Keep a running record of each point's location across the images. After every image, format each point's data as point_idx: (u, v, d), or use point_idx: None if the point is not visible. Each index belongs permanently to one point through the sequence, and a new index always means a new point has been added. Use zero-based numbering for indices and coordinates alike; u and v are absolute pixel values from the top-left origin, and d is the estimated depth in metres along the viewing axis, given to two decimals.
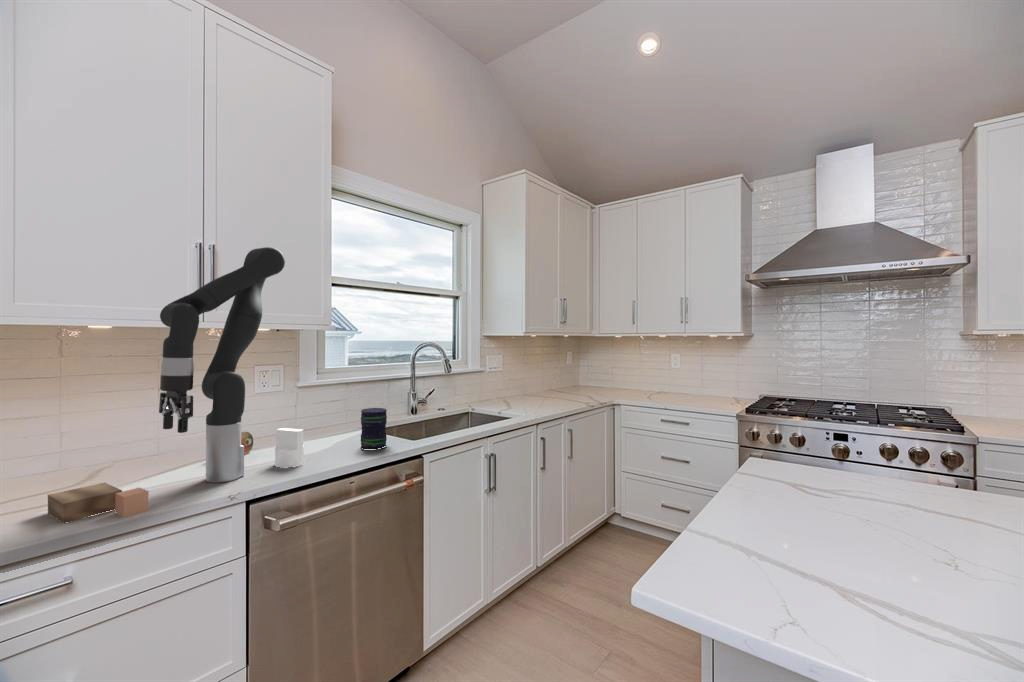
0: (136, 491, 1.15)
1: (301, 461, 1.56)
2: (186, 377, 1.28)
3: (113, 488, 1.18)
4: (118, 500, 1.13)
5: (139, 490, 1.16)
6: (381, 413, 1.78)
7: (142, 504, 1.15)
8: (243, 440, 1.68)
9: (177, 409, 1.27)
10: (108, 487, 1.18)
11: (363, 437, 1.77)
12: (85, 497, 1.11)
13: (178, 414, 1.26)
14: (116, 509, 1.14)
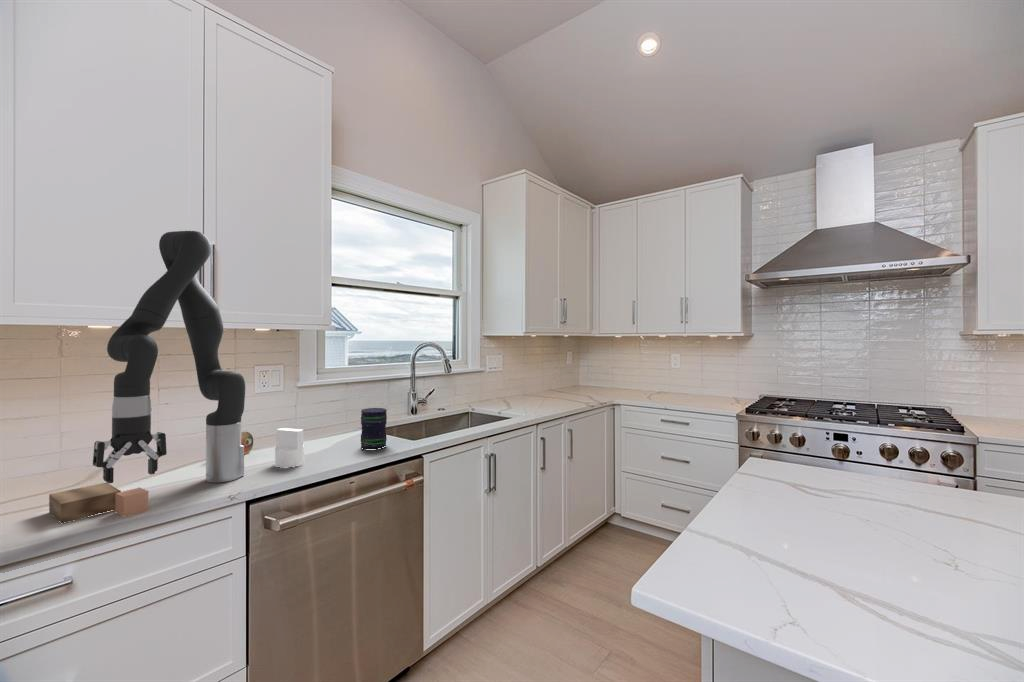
0: (136, 491, 1.15)
1: (301, 461, 1.56)
2: None
3: (113, 488, 1.18)
4: (118, 500, 1.13)
5: (139, 490, 1.16)
6: (381, 413, 1.78)
7: (142, 504, 1.15)
8: (243, 440, 1.68)
9: None
10: (108, 487, 1.18)
11: (363, 437, 1.77)
12: (84, 497, 1.11)
13: (154, 454, 1.18)
14: (116, 509, 1.14)
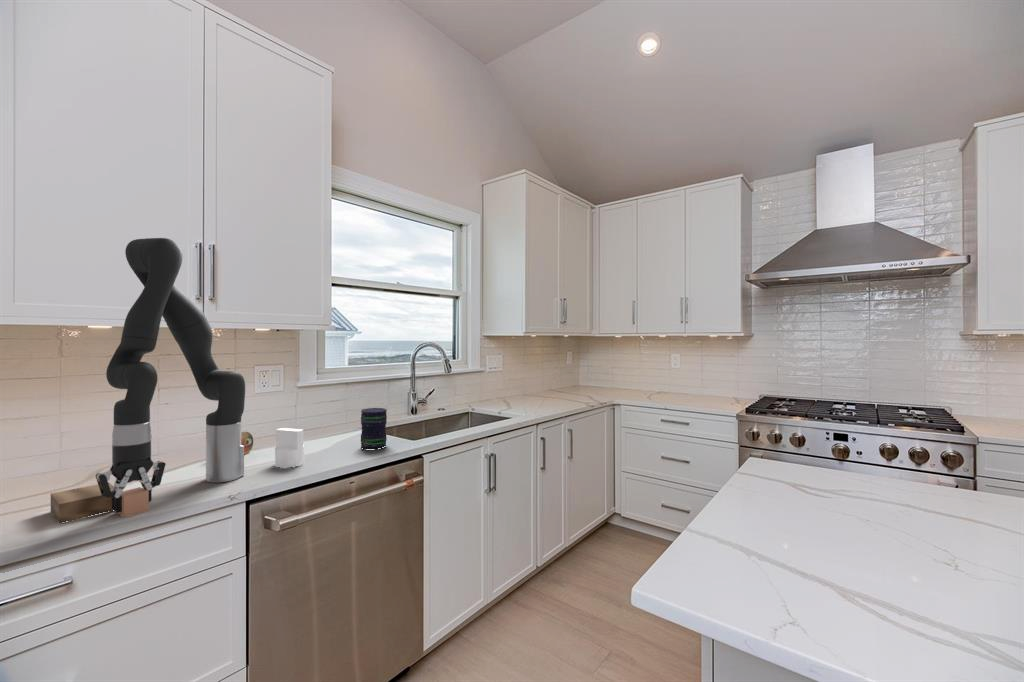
0: (136, 490, 1.15)
1: (301, 461, 1.56)
2: None
3: None
4: None
5: (139, 490, 1.16)
6: (381, 413, 1.78)
7: (142, 503, 1.15)
8: (243, 440, 1.68)
9: None
10: None
11: (363, 437, 1.77)
12: (82, 498, 1.11)
13: (148, 484, 1.17)
14: None
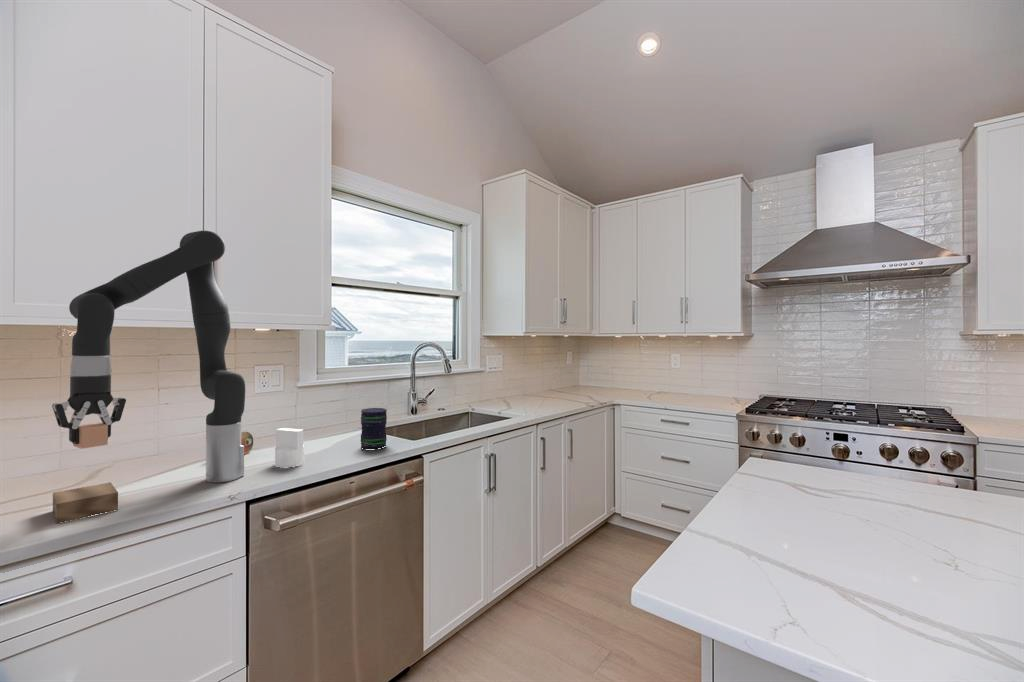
0: (95, 424, 1.15)
1: (301, 461, 1.56)
2: None
3: (113, 489, 1.17)
4: None
5: (98, 424, 1.15)
6: (381, 413, 1.78)
7: (100, 437, 1.14)
8: (243, 440, 1.68)
9: None
10: (109, 488, 1.18)
11: (363, 437, 1.77)
12: (80, 498, 1.11)
13: (108, 419, 1.16)
14: None
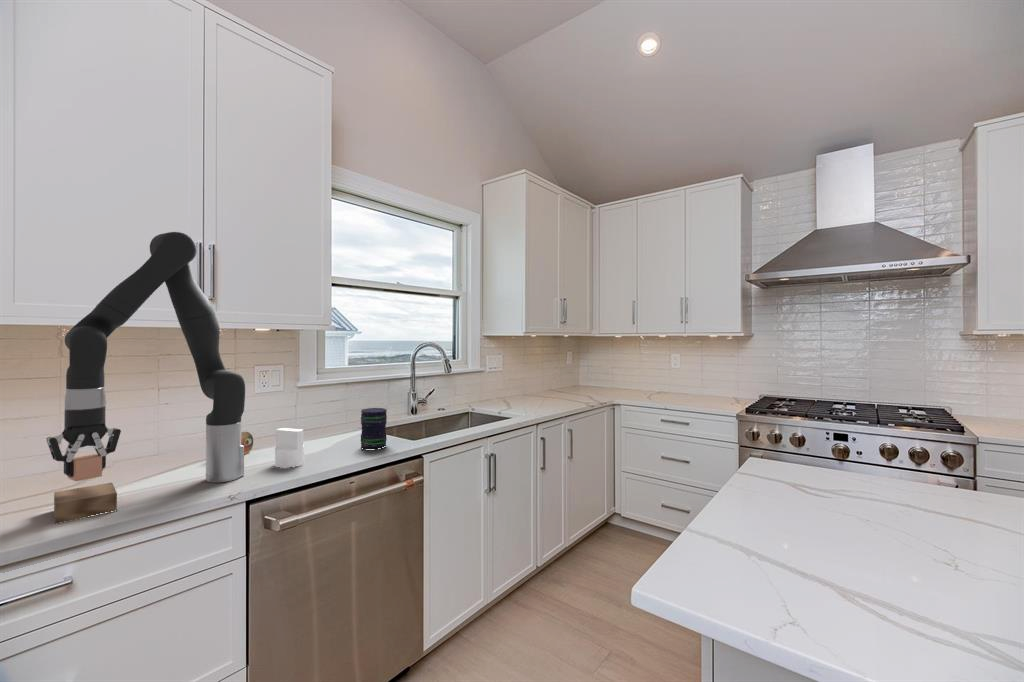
0: (90, 456, 1.15)
1: (301, 461, 1.56)
2: None
3: (112, 489, 1.17)
4: None
5: (93, 456, 1.16)
6: (381, 413, 1.78)
7: (95, 469, 1.14)
8: (243, 440, 1.68)
9: None
10: (109, 488, 1.18)
11: (363, 437, 1.77)
12: (79, 498, 1.11)
13: (102, 450, 1.17)
14: None
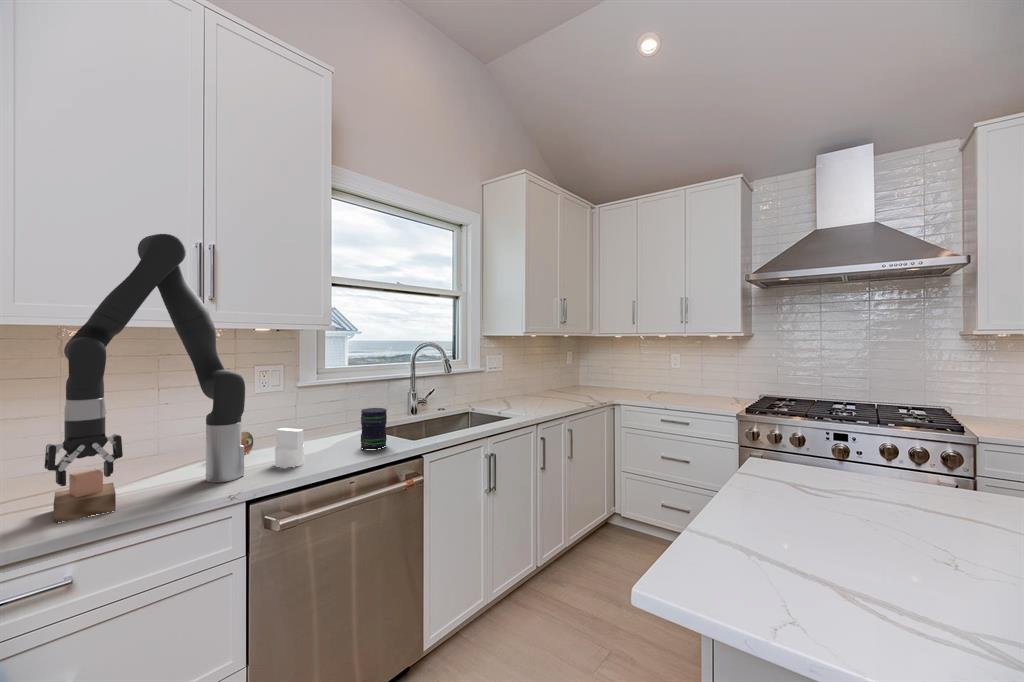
0: (90, 471, 1.15)
1: (301, 461, 1.56)
2: None
3: (112, 489, 1.17)
4: (72, 480, 1.13)
5: (94, 471, 1.16)
6: (381, 413, 1.78)
7: (95, 484, 1.15)
8: (243, 440, 1.68)
9: (107, 452, 1.17)
10: (109, 488, 1.18)
11: (363, 437, 1.77)
12: (78, 498, 1.11)
13: (109, 457, 1.18)
14: (70, 490, 1.14)
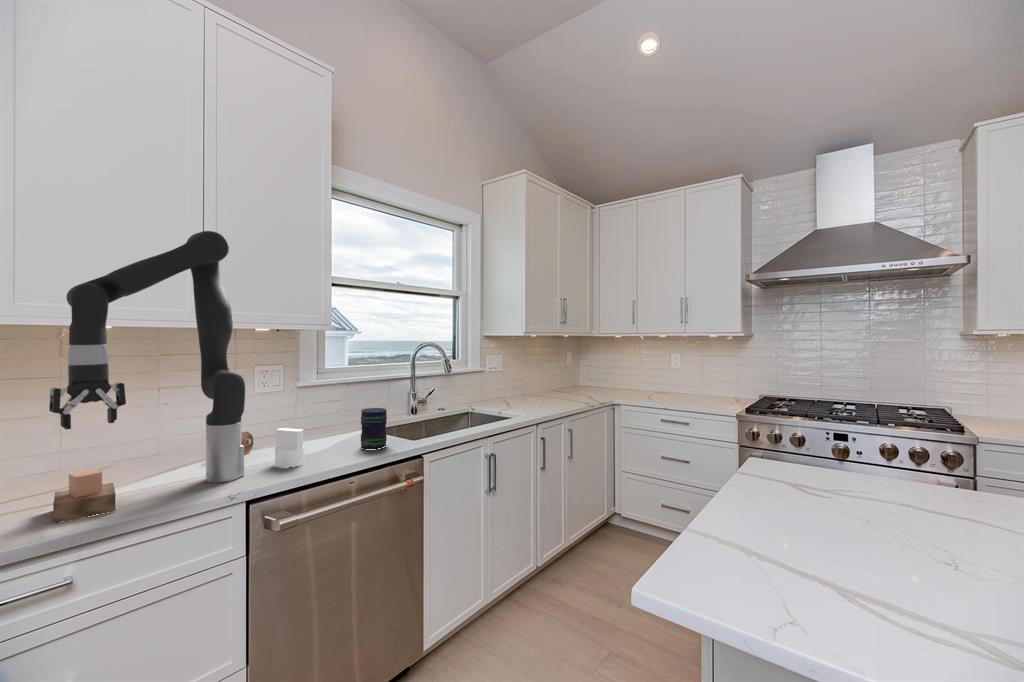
0: (90, 472, 1.15)
1: (301, 461, 1.56)
2: None
3: (112, 490, 1.17)
4: (71, 481, 1.13)
5: (93, 471, 1.16)
6: (381, 413, 1.78)
7: (95, 485, 1.14)
8: (243, 440, 1.68)
9: (110, 398, 1.19)
10: (109, 488, 1.18)
11: (363, 437, 1.77)
12: (78, 498, 1.11)
13: (112, 403, 1.19)
14: (69, 490, 1.14)
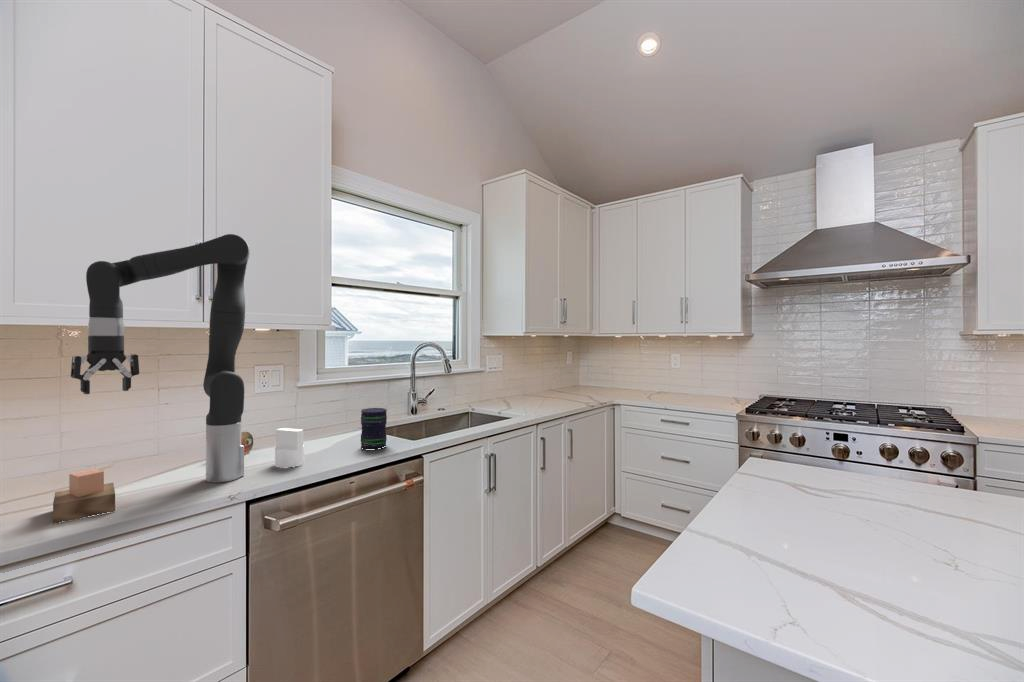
0: (91, 471, 1.16)
1: (301, 461, 1.56)
2: None
3: (112, 490, 1.17)
4: (72, 481, 1.13)
5: (94, 471, 1.16)
6: (381, 413, 1.78)
7: (97, 484, 1.15)
8: (243, 440, 1.68)
9: (125, 368, 1.30)
10: (109, 488, 1.18)
11: (363, 437, 1.77)
12: (78, 498, 1.10)
13: (127, 372, 1.30)
14: (70, 490, 1.14)
